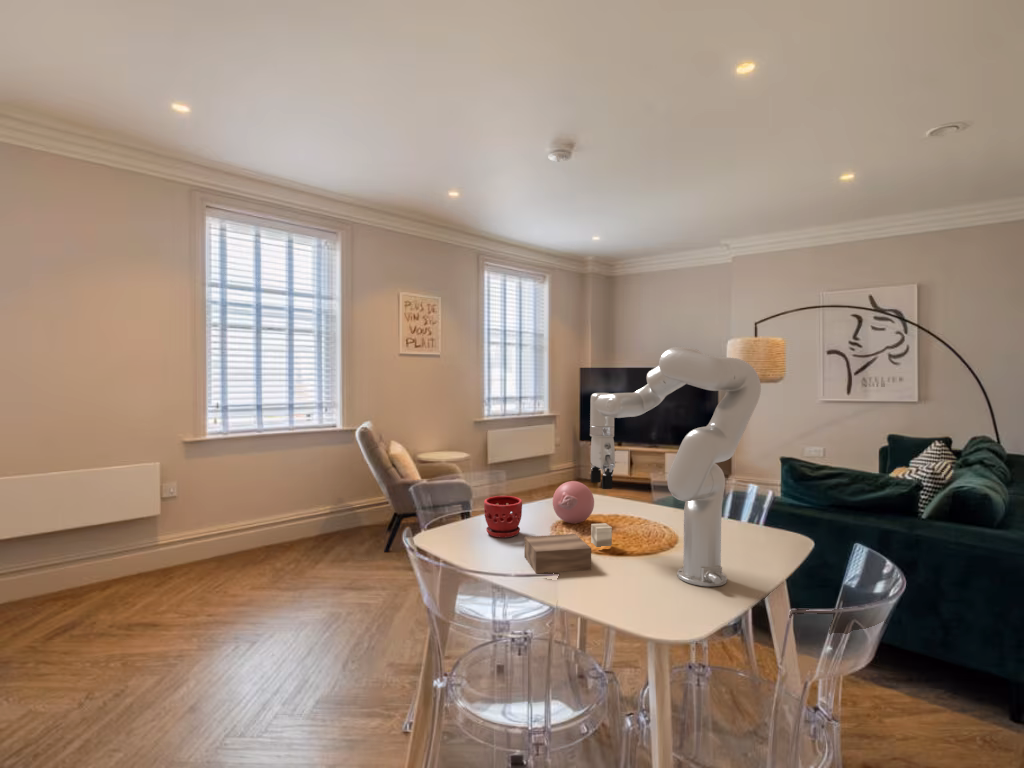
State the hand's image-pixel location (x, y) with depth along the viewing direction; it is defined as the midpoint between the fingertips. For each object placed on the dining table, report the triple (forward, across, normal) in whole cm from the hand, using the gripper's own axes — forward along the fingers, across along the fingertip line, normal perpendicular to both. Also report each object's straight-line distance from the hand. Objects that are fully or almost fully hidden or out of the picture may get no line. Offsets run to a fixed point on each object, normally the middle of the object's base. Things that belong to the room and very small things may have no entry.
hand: (601, 485), depth 170 cm
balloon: (+20, +28, +1) cm, 34 cm away
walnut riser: (+20, -11, +18) cm, 29 cm away
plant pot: (+20, +20, +28) cm, 40 cm away
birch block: (+20, 0, 0) cm, 20 cm away
